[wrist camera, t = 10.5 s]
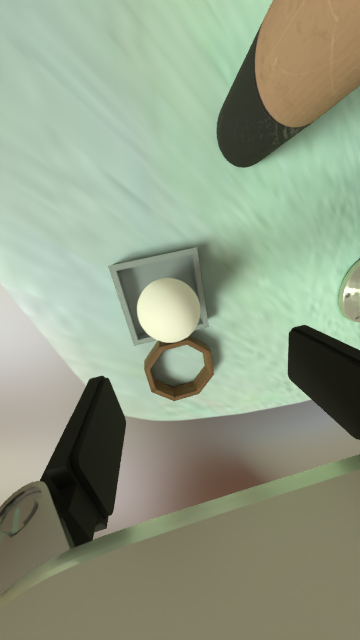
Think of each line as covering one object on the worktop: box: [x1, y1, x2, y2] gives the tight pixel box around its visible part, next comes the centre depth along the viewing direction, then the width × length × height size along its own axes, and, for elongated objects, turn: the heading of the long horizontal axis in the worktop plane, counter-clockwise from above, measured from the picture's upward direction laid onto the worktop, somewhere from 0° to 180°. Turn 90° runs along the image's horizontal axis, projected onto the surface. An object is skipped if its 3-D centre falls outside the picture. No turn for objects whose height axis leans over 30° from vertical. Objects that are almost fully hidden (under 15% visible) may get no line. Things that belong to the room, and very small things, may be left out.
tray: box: [108, 247, 209, 346], centre depth 26 cm, size 11×11×3 cm
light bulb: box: [137, 278, 200, 343], centre depth 21 cm, size 7×7×11 cm
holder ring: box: [144, 336, 214, 401], centre depth 30 cm, size 10×10×2 cm
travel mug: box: [217, 0, 360, 167], centre depth 13 cm, size 8×8×20 cm
